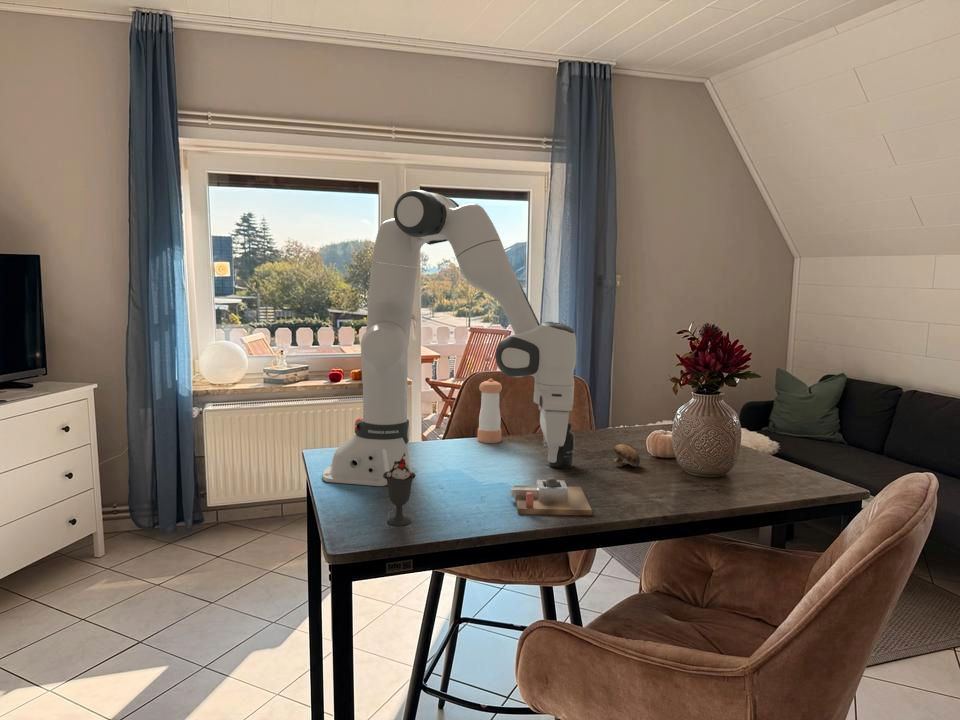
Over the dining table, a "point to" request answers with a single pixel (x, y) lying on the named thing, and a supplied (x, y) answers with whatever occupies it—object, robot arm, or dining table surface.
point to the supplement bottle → (565, 451)
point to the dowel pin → (529, 499)
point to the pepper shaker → (489, 412)
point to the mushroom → (626, 456)
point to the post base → (573, 506)
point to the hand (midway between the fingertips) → (549, 455)
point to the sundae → (399, 489)
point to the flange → (543, 492)
